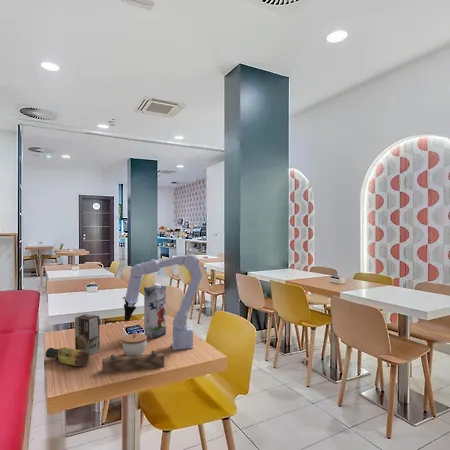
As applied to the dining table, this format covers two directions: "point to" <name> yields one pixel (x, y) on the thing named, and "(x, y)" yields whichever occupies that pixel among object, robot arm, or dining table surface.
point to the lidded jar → (134, 344)
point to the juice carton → (155, 311)
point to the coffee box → (87, 333)
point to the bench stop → (132, 362)
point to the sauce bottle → (68, 356)
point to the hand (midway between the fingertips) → (127, 317)
